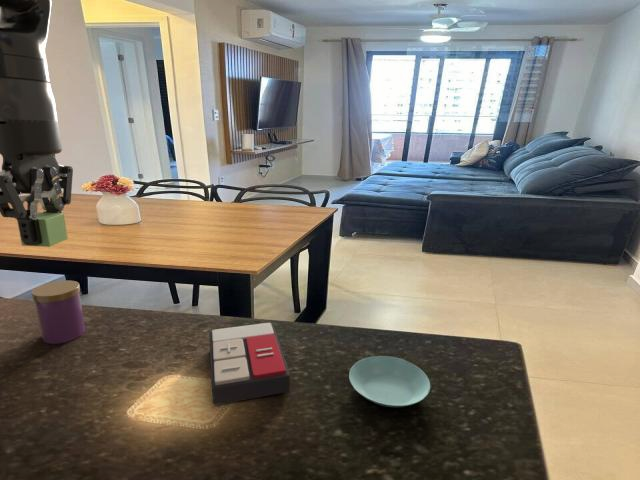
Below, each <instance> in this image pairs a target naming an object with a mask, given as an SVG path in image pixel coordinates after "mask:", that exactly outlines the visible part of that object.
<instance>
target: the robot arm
mask: <svg viewBox="0 0 640 480" xmlns="http://www.w3.org/2000/svg"><path fill="white" fill-rule="evenodd" d="M51 10H52V0H0V155H1V157H2V164H1V170H0V216H2V217H3V218H12V219H16V221H17V220H18V222H17V225H18V224H19V227H18V230H19V229H20V232H19V235H20V234H21V238H20V240H21V239H22V241H23V243H24V244H25V245H39V244H41V243H42V238H41V232H40V227H39V221H38V219H36V218H37V212H38V204H39V203H40V206H41V208H42V210H43V211H42V213H62V211H64V209H65V206H66V205H70V204H71V203H72V202H71V201H72V190H73V189H72V188H73V174H74V169H73V167H72V166H71V165H62V164H59V161H58V159H57V157H56V155H57V154H60V153H62V151H63V145H62V137H61V132H60V126H59V119H58V113H57V106H56V105H57V103H56V99H55V96H54V93H53V90H52V85H51V81H50V72H49V66H48V65H49V64H48V60H47V54H46V49H47V48H46V47H47V43H48V42H47V41H48V37H49V30H50V29H49V27H50V19H51V12H52V11H51ZM62 190H63V191H62ZM24 203H27V205H26V206H27V209H26V208H25V206H24ZM10 205H11V207H10Z"/></svg>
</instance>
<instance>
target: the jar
mask: <svg viewBox="0 0 640 480" xmlns="http://www.w3.org/2000/svg"><path fill="white" fill-rule="evenodd" d="M80 293H81V286H80V283H79V282H78V281H75V280H70V279H69V280H57V281H56V280H55V281H50V282H46V283H43V284H41V285H38V286H36V287H35V288H33V289H32V290H31V297H32V300H33V301H34V304H35V309H36V314H37V320H38V324H39V329H40V334H41V339H42V341H43V342H44V343H46V344H50V345H51V344H52V345H58V344H63V343H67V342H71V341H74V340H76V339H78V338H80V337H81V336H83V335H84V334H85V332H86V325H85V324H86V323H85V318H84V311H83V306H82V301H81V300H82V299H81V294H80Z"/></svg>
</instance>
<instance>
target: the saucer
mask: <svg viewBox="0 0 640 480" xmlns="http://www.w3.org/2000/svg"><path fill="white" fill-rule="evenodd" d="M348 374H349V375H348V378H349V382H350V384H351V386H352V387H353V389H354V391H356V392H357V393H358V394H359V395H361V396H362V397H363V398H364V399H366V400H368V401H369V402H370V403H373V404H375V405H378V406H382V407H386V408H404V407H405V408H406V407H410V406H413V405H416V404H417V403H419V402H422V401H423V400H424V399H425V398H427V396H428V395H429V393H430V391H431V382H430V379H429V377H428V376H427V374H426V373H425V372H424V371H423V370H422V369H421V368H420V367H419V366H417V365H416V364H413V363H412V362H409V361H408V360H405V359H402V358H399V357H395V356H387V355H375V356H368V357H364V358H362V359H360V360H358V361H356V362H355V363H354V364H353V365H352V366H351V368H350V369H349V373H348Z"/></svg>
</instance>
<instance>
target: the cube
mask: <svg viewBox="0 0 640 480" xmlns="http://www.w3.org/2000/svg"><path fill="white" fill-rule="evenodd" d="M36 219H38V221H39V227H40V232H41V238H42V243H41V244H39V245H25V244H24V243H23V241H22V239H21V234H20V229H19V224H18V220H17V219H16V222H17V226H18V231H19V232H18V233H19V237H20V243H21V246H25V247H45V248H47V247H48V248H50V247H52V246H55V245H57V244H59V243H62V242H64V241H67V240H68V232H67V224H66V218H65V214H64V213H63V212H61V213H43V212H40V211H37V218H36Z"/></svg>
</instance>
